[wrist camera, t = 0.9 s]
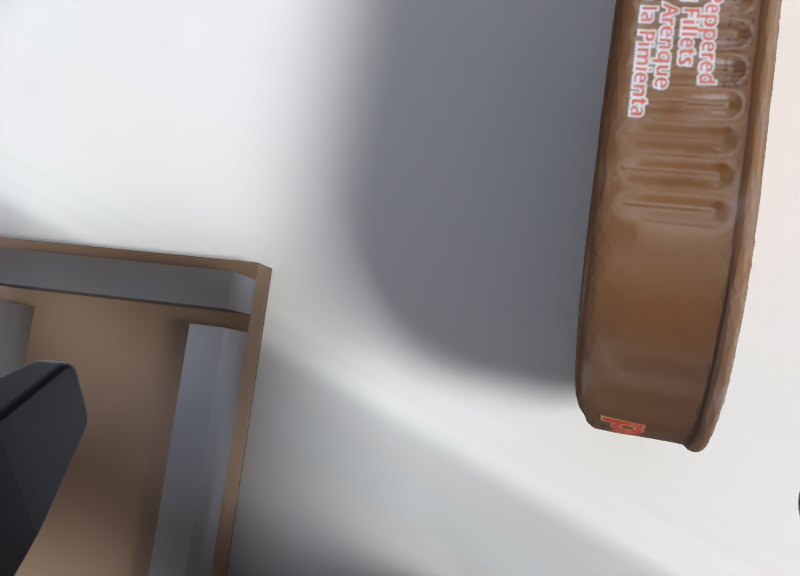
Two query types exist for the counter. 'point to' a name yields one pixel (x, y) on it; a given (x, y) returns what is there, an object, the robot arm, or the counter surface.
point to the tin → (673, 213)
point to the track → (140, 400)
